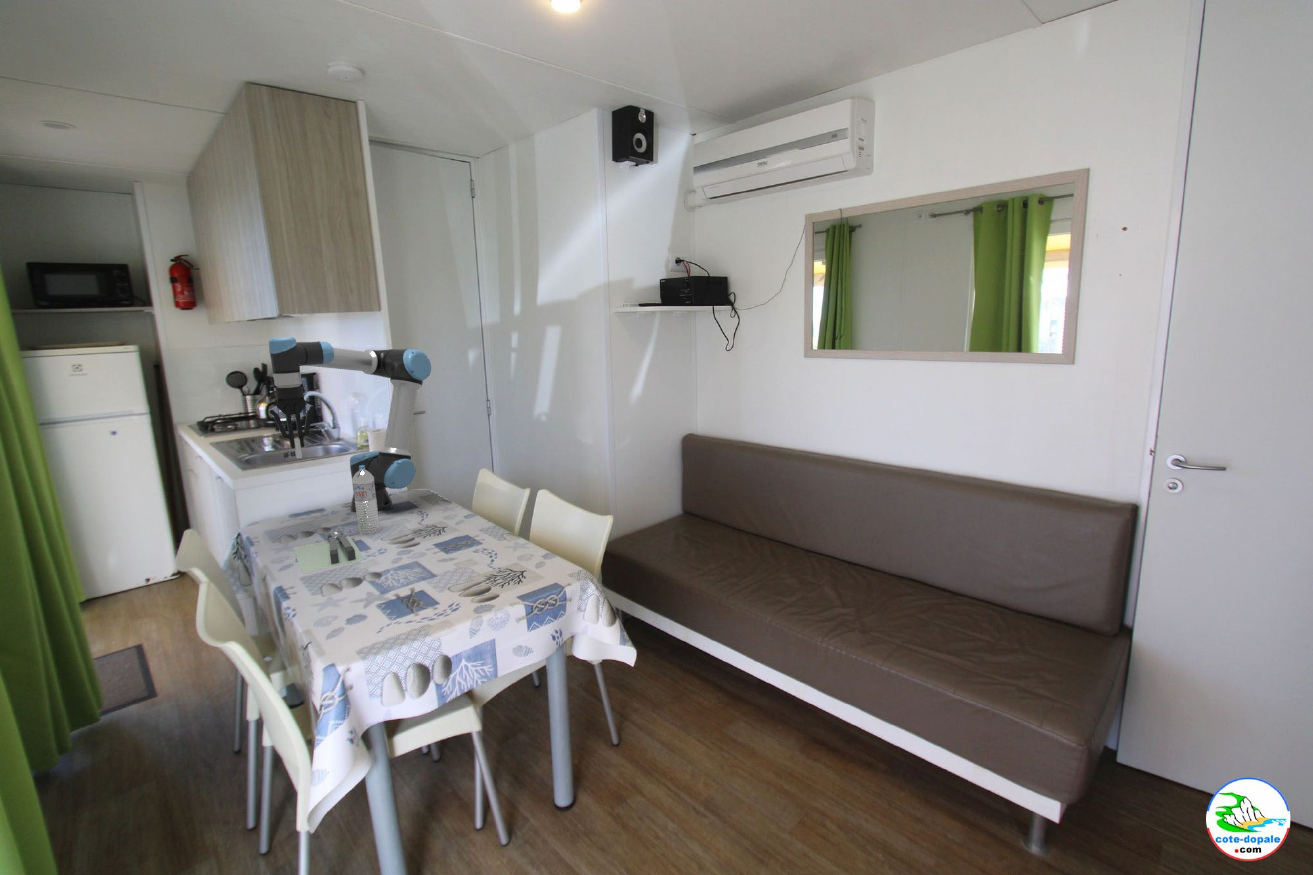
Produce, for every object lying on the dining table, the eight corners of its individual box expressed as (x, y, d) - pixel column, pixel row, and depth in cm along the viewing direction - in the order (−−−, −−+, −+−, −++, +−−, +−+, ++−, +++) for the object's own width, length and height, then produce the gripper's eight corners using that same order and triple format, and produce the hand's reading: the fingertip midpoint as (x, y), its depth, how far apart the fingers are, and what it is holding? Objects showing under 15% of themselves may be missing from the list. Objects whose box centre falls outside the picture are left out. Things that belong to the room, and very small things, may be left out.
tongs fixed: (342, 537, 209) (341, 527, 208) (356, 559, 190) (355, 547, 189) (327, 540, 206) (326, 530, 205) (340, 562, 187) (338, 551, 186)
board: (349, 539, 210) (349, 536, 210) (365, 562, 190) (365, 559, 189) (293, 551, 200) (292, 547, 200) (303, 577, 180) (302, 573, 180)
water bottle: (354, 536, 213) (346, 467, 208) (371, 530, 219) (363, 462, 214) (367, 539, 210) (359, 469, 205) (384, 533, 216) (377, 464, 211)
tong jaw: (337, 544, 202) (336, 536, 201) (339, 562, 187) (337, 553, 186) (330, 545, 201) (329, 537, 200) (331, 563, 186) (330, 554, 185)
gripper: (310, 383, 202) (319, 452, 207) (263, 386, 195) (274, 458, 200) (313, 385, 196) (323, 456, 201) (265, 388, 189) (277, 462, 194)
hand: (299, 457), depth 200 cm, fingers closed
